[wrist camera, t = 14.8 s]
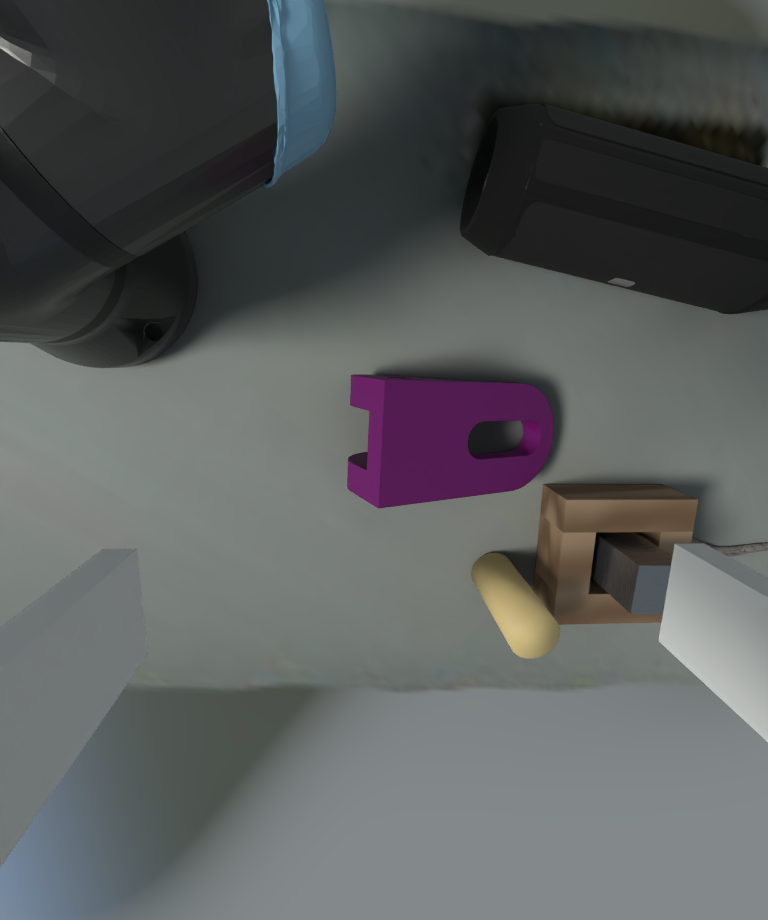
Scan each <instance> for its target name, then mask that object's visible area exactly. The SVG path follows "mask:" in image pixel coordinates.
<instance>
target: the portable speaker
mask: <svg viewBox="0 0 768 920" xmlns="http://www.w3.org/2000/svg"><path fill="white" fill-rule="evenodd" d="M460 231H461V235H462V236H463V237H464V238H465V239H467V240H468V241H469V242H471V243H472V244H473V245H475V246H476V247H477V248H479V249H480V250H481V251H483V252H484V253H486V254H487V255H492V256H497V257H501V258H505V259H509V260H513V261H517V262H521V263H525V264H529V265H533V266H537V267H541V268H545V269H549V270H553V271H557V272H561V273H565V274H569V275H573V276H578V277H582V278H586V279H590V280H594V281H598V282H602V283H606V284H610V285H614V286H618V287H622V288H626V289H630V290H634V291H638V292H642V293H646V294H650V295H654V296H658V297H662V298H667V299H671V300H675V301H679V302H683V303H687V304H691V305H695V306H699V307H703V308H707V309H711V310H715V311H718V312H720V313H723V314H737V313H745V312H752V311H759V310H765V309H768V168H765V167H762V166H758V165H755V164H752V163H748V162H745V161H741V160H738V159H734V158H731V157H727V156H724V155H721V154H717V153H714V152H710V151H707V150H703V149H700V148H696V147H693V146H689V145H686V144H683V143H679V142H676V141H672V140H669V139H665V138H662V137H658V136H655V135H651V134H648V133H645V132H641V131H638V130H634V129H631V128H627V127H624V126H620V125H617V124H613V123H610V122H607V121H603V120H600V119H596V118H593V117H589V116H586V115H582V114H579V113H576V112H572V111H569V110H565V109H562V108H558V107H555V106H551V105H548V104H544V103H542V104H539V103H531V104H525V105H518V106H511V107H505V108H499V109H497V110H496V111H495V112H494V114H493V115H492V117H491V119H490V121H489V123H488V125H487V127H486V129H485V132H484V134H483V137H482V140H481V142H480V145H479V148H478V151H477V154H476V157H475V160H474V163H473V167H472V170H471V174H470V178H469V181H468V185H467V189H466V193H465V198H464V203H463V208H462V214H461V223H460Z"/></svg>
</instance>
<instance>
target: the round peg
mask: <svg viewBox="0 0 768 920" xmlns="http://www.w3.org/2000/svg"><path fill="white" fill-rule="evenodd" d="M471 575H472V580H473V582H474V583H475V585H476V587H477V589H478V591H479V592H480V594H481V596H482V598H483V599H484V601H485V603H486V605H487V606H488V608H489V610H490V612H491V614H492V615H493V617H494V619H495V621H496V622H497V624H498V626H499V628H500V629H501V631H502V633H503V635H504V637H505V638H506V640H507V642H508V644H509V645H510V647H511V649H512V650H513V652H514V653H515V654H517V655H518V656H520V657H523V658H537V657H541V656H543V655H545V654H547V653H548V652H549V651H551V650H552V649H553V648H554V646H555V645H556V644H557V642H558V639H559V636H560V628H559V625H558V623H557V621H556V620H555V619H554V617H553V616H552V615H551V613H550V612H549V611H548V609H547V608H546V607H545V606H544V604H543V603H542V602H541V600H540V599H539V598H538V596H537V595H536V594H535V593H534V591H533V590H532V589H531V587H530V586H529V585H528V583H527V582H526V581H525V580H524V578H523V577H522V576H521V574H520V573H519V572H518V570H517V569H516V568H515V567H514V565H513V564H512V563H511V561H510V560H509V559H508V558H507V557H506V556H505V555H503V554H500V553H488V554H486V555H483V556H482V557H480V558H479V559H478V560H477V561H476V562H475V564H474V566H473V568H472V573H471Z"/></svg>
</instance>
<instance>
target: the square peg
mask: <svg viewBox="0 0 768 920" xmlns="http://www.w3.org/2000/svg"><path fill="white" fill-rule="evenodd" d="M672 557H673V555H671V554H669V553H668V552H666V551H665V550H663V549H661V548H660V547H658V546H657V545H655V544H653V543H652V542H650V541H648V540H647V539H645V538H644V537H642V536H640V535H639V534H637V533H636V532H596V538H595V546H594V554H593V561H592V569H591V578H592V579H593V580H594V581H595V582H596V583H598V584H599V585H600V586H601V587H602V588H603V589H604V590H605V591H606V592H607V593H608V594H609V595H611V596H612V597H613V598H614V599H615V600H616V601H617V602H618V603H619V604H620V605H621V606H622V607H624V608H625V609H626V610H627V611H628V612H629V613H630V614H663V611H664V605H665V599H666V593H667V587H668V581H669V575H670V569H671V563H672Z"/></svg>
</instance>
